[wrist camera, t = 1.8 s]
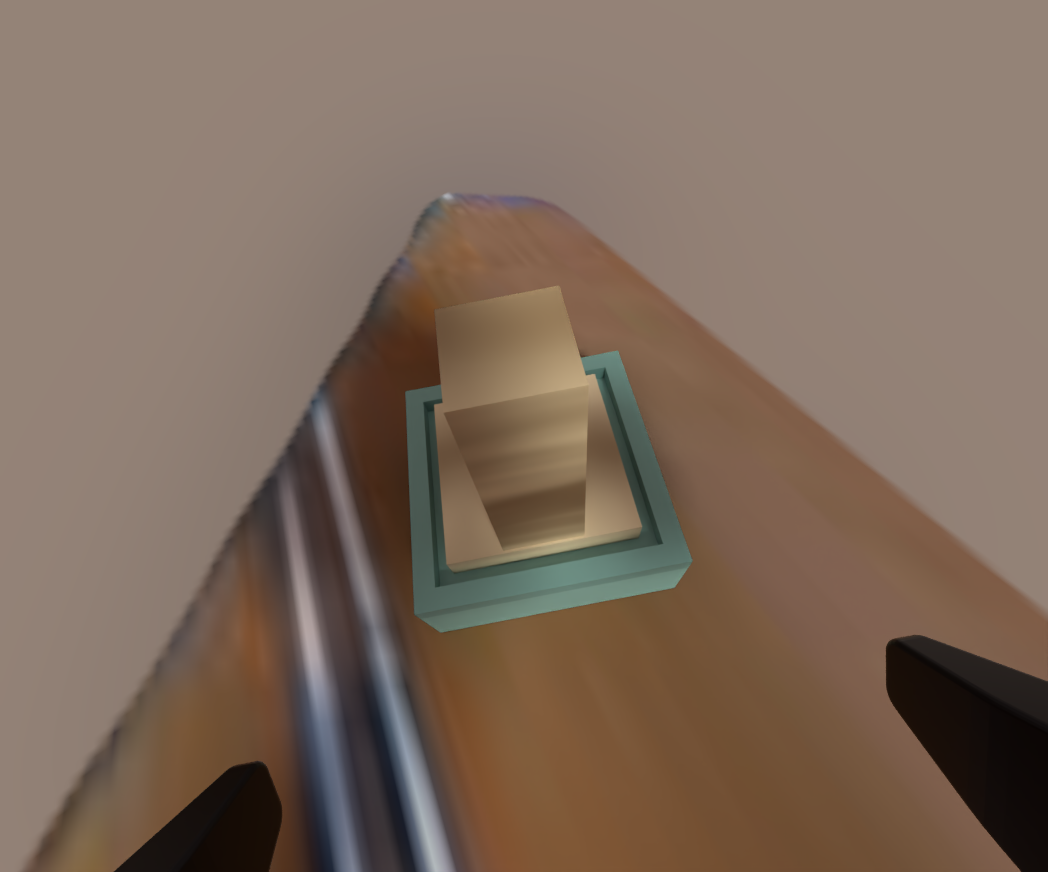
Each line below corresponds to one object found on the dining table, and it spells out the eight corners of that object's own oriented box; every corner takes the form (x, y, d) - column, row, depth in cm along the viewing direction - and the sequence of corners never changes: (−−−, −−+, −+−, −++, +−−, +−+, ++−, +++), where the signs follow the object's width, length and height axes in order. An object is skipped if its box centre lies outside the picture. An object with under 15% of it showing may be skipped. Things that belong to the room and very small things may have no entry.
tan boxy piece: (638, 537, 18) (691, 369, 10) (453, 573, 18) (341, 436, 10) (594, 390, 22) (603, 173, 13) (440, 419, 22) (351, 221, 13)
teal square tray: (674, 587, 20) (692, 561, 17) (440, 632, 20) (414, 614, 17) (612, 398, 25) (617, 350, 22) (427, 434, 25) (405, 391, 22)
